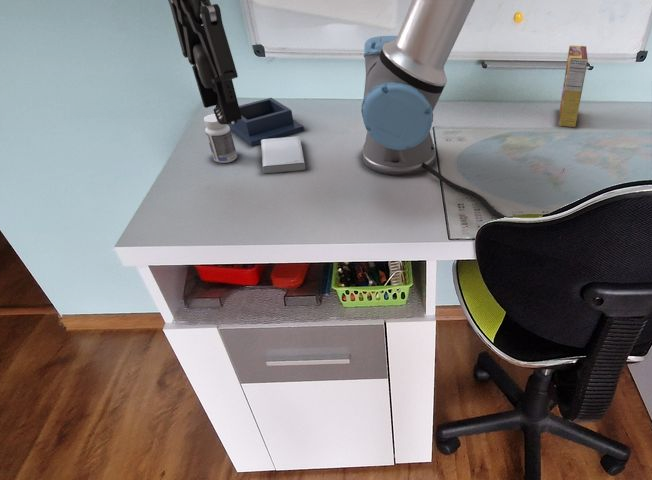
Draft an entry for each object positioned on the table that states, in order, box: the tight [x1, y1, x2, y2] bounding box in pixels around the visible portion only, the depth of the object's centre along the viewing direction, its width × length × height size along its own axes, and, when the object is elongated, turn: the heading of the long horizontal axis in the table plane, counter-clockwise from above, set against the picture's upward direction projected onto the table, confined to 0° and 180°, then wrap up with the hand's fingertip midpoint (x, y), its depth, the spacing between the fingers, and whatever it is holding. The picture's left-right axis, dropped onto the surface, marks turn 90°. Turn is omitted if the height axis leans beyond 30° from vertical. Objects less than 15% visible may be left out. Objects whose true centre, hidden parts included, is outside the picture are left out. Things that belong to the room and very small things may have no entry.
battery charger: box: [193, 43, 238, 125], centre depth 89 cm, size 7×4×11 cm, turn 25°
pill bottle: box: [203, 113, 238, 164], centre depth 109 cm, size 5×5×8 cm
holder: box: [227, 97, 305, 147], centre depth 121 cm, size 14×13×4 cm
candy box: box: [558, 44, 589, 128], centre depth 126 cm, size 9×4×15 cm, turn 171°
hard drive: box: [260, 136, 306, 174], centre depth 112 cm, size 2×8×12 cm
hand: (222, 112), depth 92 cm, fingers closed on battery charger, 7 cm apart
